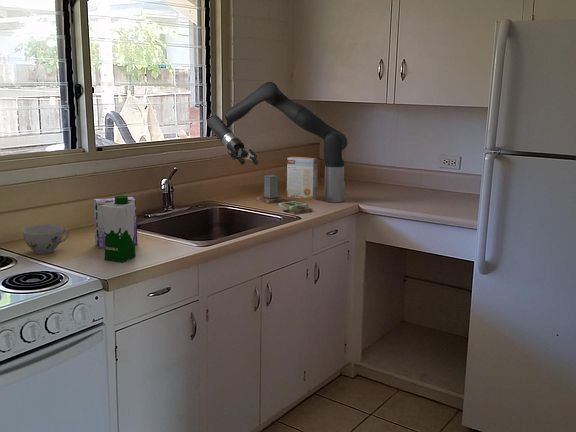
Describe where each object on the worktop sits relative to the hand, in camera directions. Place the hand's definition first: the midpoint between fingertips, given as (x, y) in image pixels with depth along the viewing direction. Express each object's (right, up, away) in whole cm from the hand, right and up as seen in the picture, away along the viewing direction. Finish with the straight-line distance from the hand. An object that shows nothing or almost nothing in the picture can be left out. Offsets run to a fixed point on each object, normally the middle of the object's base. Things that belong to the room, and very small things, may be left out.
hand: (250, 163), depth 290 cm
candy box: (-43, -35, -75) cm, 93 cm away
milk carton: (-37, -39, -92) cm, 106 cm away
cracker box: (+24, -17, +11) cm, 32 cm away
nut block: (+10, -18, -1) cm, 20 cm away
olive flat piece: (+15, -21, -7) cm, 27 cm away
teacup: (-63, -37, -85) cm, 112 cm away
